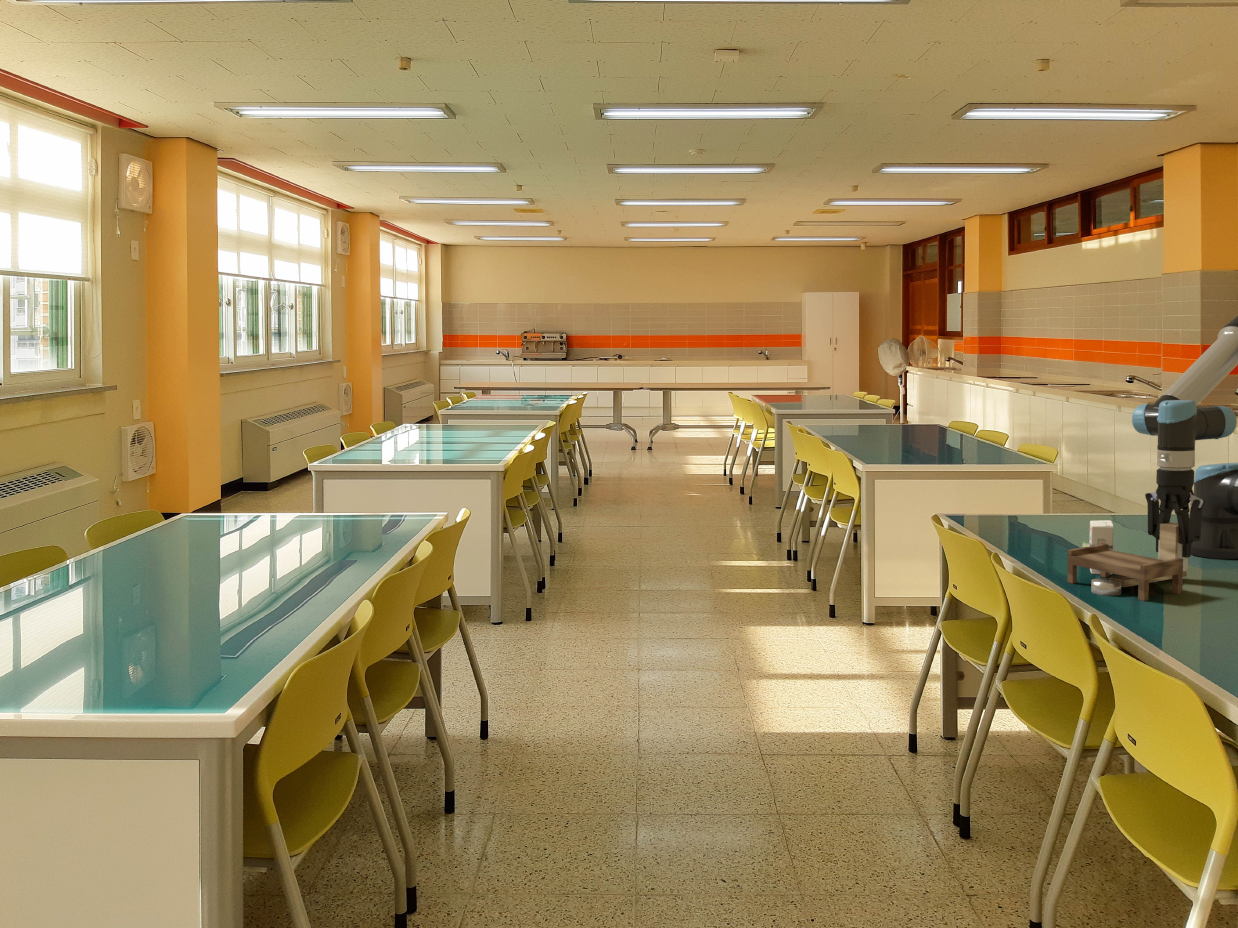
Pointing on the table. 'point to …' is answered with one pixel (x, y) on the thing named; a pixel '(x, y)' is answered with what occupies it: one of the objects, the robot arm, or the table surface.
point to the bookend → (1160, 552)
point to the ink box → (1101, 536)
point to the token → (1106, 586)
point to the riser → (1125, 567)
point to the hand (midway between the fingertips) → (1172, 568)
